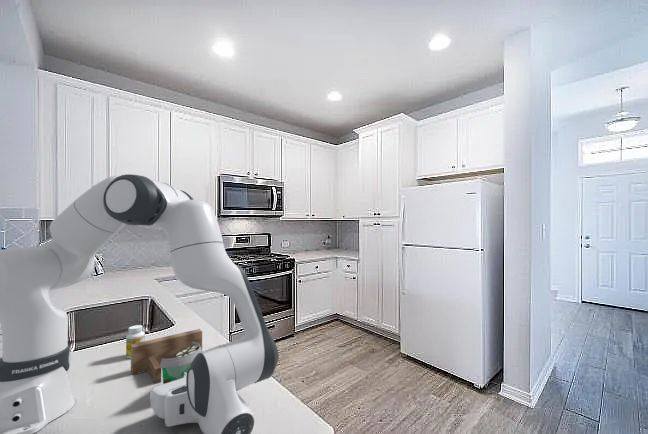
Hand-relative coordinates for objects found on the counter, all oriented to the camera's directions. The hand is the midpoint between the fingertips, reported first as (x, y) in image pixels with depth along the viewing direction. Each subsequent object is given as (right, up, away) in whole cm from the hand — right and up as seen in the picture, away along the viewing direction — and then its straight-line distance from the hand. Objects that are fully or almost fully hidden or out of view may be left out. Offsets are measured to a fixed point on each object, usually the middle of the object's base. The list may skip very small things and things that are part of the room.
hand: (189, 373), depth 77 cm
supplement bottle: (-29, -6, +23) cm, 37 cm away
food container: (-2, -5, +2) cm, 6 cm away
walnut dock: (-11, -5, +13) cm, 18 cm away
